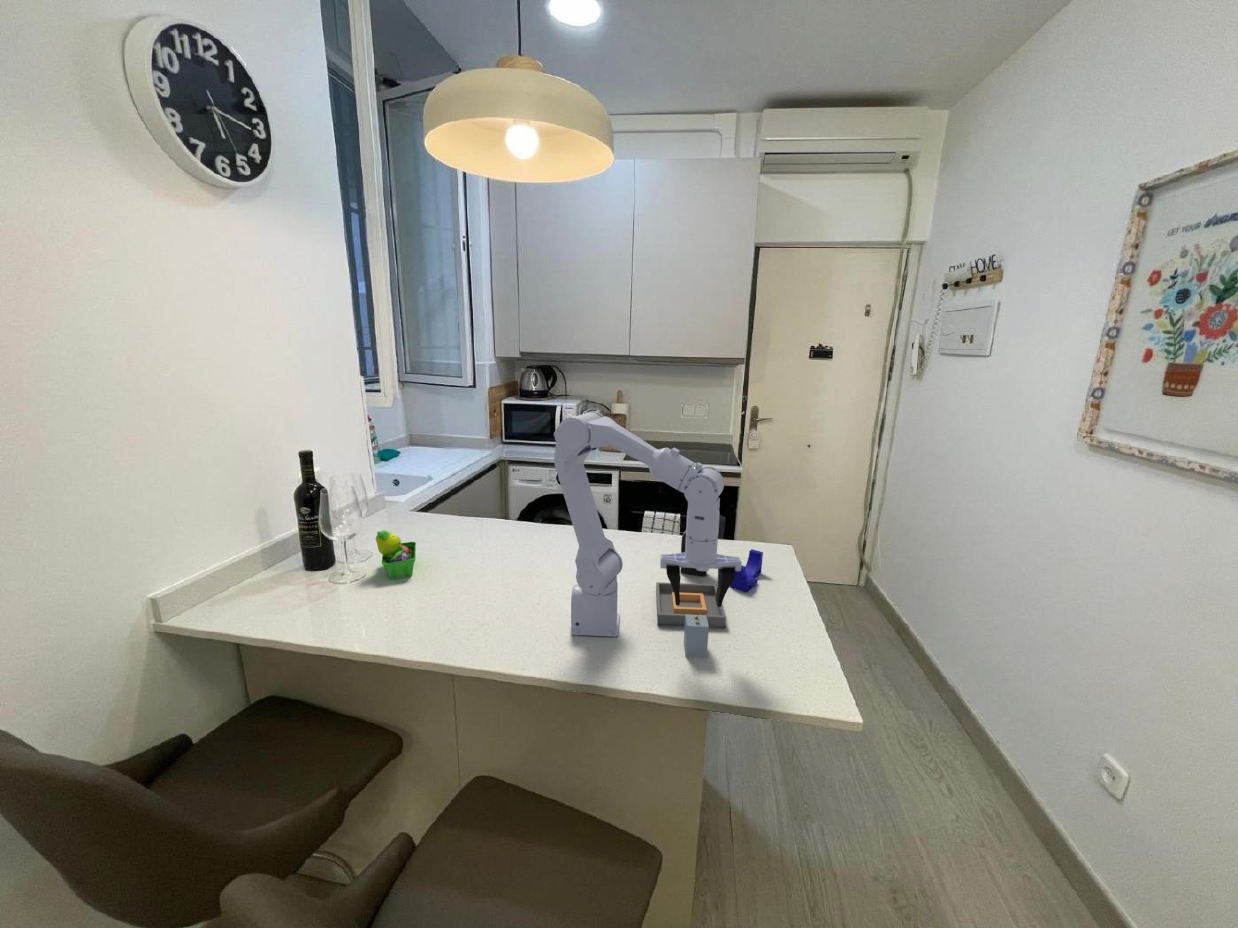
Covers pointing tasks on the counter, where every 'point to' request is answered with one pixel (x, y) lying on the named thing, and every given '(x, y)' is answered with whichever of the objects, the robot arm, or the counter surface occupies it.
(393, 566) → the fruit basket
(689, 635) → the connector plug
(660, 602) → the box
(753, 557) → the cable clip
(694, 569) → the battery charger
